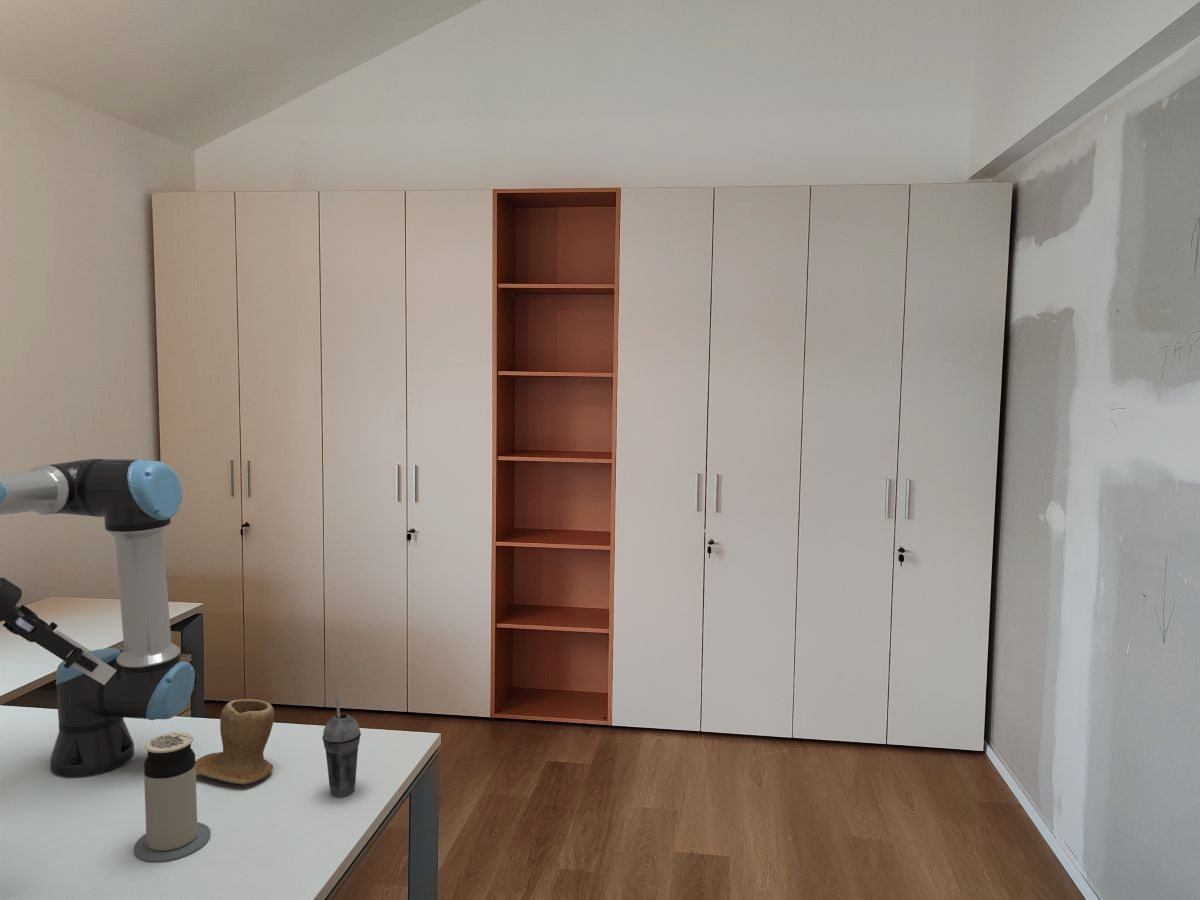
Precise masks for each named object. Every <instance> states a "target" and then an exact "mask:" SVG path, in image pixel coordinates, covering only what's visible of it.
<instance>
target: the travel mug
mask: <svg viewBox="0 0 1200 900" xmlns="http://www.w3.org/2000/svg"><path fill="white" fill-rule="evenodd" d="M193 741H194V736H193V735H192V734H190V733H188V732H181V731H179V732H177V731H176V732H174V731H173V732H168V733H163V734H160V735H157V736H154V737H152V738H150V739H148V741H146V743H145V744H144V748H145V751H146V754H147V756H146V758H145V760H144V762H143V776H144V777H143V779H144V780H143V782H144V805H145V806H144V810H145V812H144V813H145V832H146V833H145V834H146V839H147V846H148V847H149V848H150V849H153V850H160V851H167V850H173V849H177V848H180V847H182V846H184V845H186V844H188V843H190V842H191V841H192V840H194V839H195V837H196V836H197V833H198V831H197V822H198V806H197V805H198V802H197V773H196V767H195V761H196V753H195V752H194V750H193V749H192V744H193V743H192V742H193Z"/></svg>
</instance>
